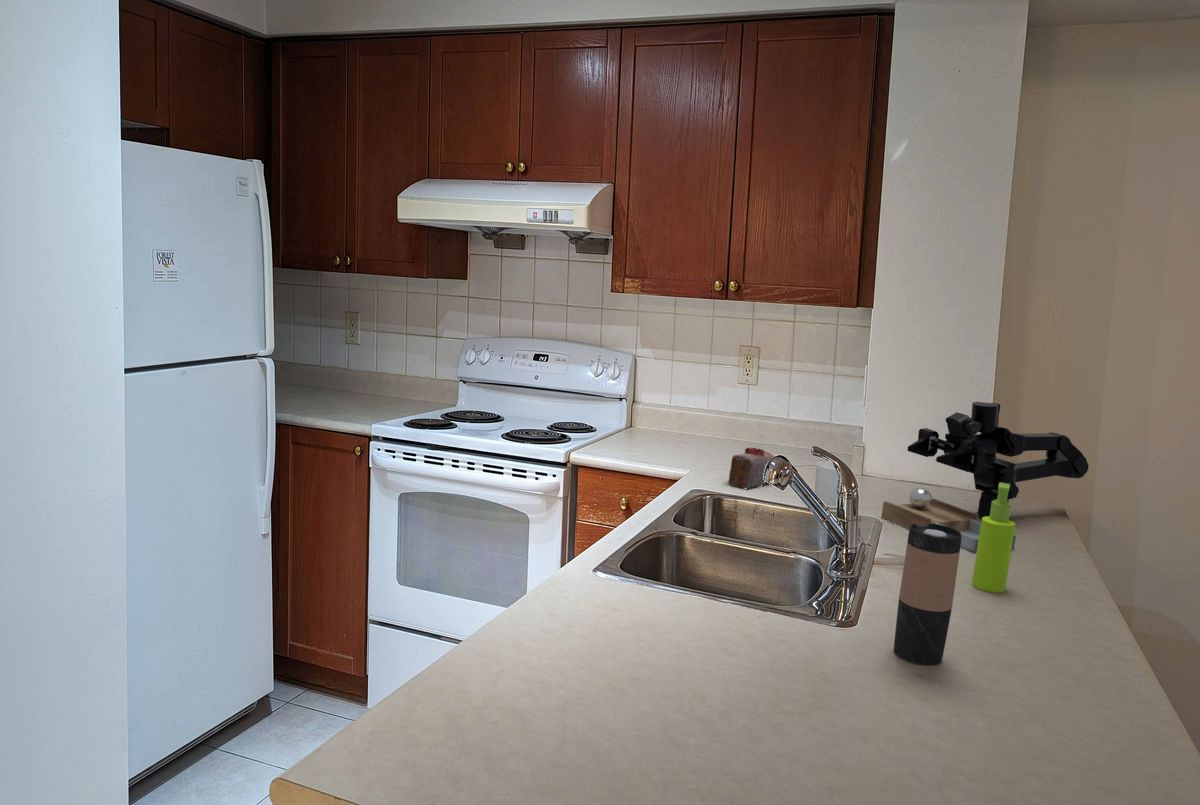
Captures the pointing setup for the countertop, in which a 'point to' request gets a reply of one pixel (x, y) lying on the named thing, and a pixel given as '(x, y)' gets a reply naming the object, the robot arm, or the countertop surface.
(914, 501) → the ball
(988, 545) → the soap dispenser
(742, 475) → the food item
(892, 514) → the deck
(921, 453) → the robot arm
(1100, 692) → the countertop surface
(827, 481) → the white cup
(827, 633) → the countertop surface
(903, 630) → the travel mug
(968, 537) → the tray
